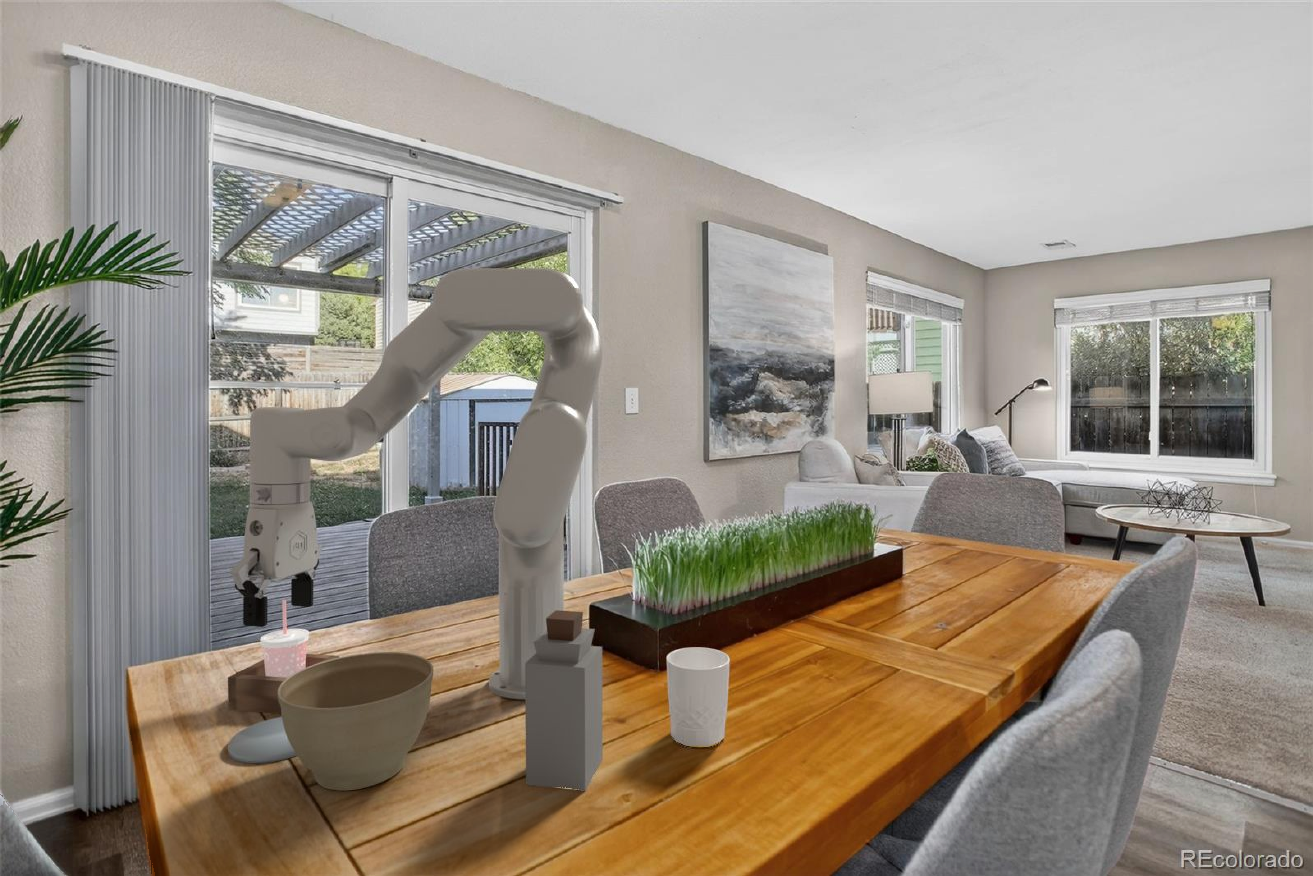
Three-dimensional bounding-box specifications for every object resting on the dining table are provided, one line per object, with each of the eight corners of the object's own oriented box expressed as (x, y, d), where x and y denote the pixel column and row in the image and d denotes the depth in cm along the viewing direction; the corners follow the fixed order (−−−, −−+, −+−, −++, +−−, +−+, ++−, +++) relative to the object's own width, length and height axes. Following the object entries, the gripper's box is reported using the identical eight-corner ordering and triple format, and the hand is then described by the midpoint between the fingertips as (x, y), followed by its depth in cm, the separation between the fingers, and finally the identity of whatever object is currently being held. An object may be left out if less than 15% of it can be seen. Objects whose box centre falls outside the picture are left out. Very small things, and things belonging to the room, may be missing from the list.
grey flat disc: (347, 724, 92) (347, 718, 92) (291, 766, 81) (291, 759, 81) (270, 718, 93) (270, 712, 93) (206, 759, 82) (205, 752, 82)
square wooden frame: (339, 685, 104) (339, 655, 104) (295, 714, 94) (294, 681, 94) (278, 681, 106) (277, 652, 106) (228, 710, 96) (227, 677, 96)
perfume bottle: (585, 791, 76) (584, 626, 75) (526, 784, 77) (524, 622, 76) (602, 760, 82) (602, 608, 81) (547, 755, 83) (546, 605, 83)
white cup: (711, 757, 83) (711, 674, 82) (654, 741, 87) (654, 661, 87) (739, 731, 90) (740, 654, 89) (686, 717, 94) (686, 643, 93)
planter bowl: (316, 739, 87) (314, 653, 87) (448, 735, 89) (447, 650, 88) (250, 814, 71) (248, 708, 71) (413, 807, 72) (411, 704, 72)
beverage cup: (269, 691, 102) (266, 596, 102) (314, 687, 104) (312, 593, 103) (255, 708, 96) (253, 607, 96) (304, 704, 98) (302, 604, 97)
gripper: (261, 504, 90) (260, 636, 90) (341, 489, 107) (340, 601, 107) (208, 501, 91) (208, 632, 91) (296, 487, 108) (295, 597, 109)
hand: (279, 615), depth 99 cm, fingers open, 9 cm apart
